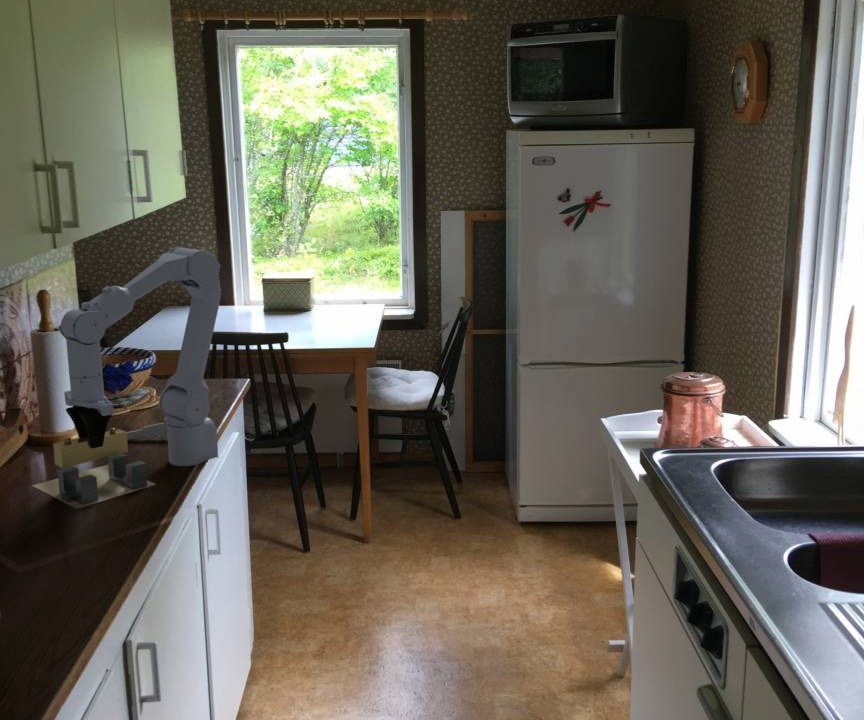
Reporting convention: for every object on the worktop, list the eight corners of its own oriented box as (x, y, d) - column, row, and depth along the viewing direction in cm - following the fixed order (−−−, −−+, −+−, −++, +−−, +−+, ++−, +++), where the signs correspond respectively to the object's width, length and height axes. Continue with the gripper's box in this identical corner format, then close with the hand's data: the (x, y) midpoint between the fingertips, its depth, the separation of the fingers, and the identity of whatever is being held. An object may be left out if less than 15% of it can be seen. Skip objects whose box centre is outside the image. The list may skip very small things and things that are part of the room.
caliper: (178, 443, 200) (176, 415, 199) (177, 444, 199) (176, 417, 198) (82, 446, 198) (80, 418, 196) (81, 447, 197) (79, 420, 195)
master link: (120, 448, 176) (118, 424, 175) (128, 451, 174) (126, 427, 173) (55, 464, 167) (53, 439, 166) (62, 468, 165) (60, 442, 164)
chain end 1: (74, 489, 170) (72, 466, 169) (98, 500, 165) (96, 477, 164) (53, 495, 167) (51, 472, 166) (76, 507, 162) (74, 483, 160)
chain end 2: (128, 473, 178) (127, 451, 177) (152, 483, 173) (151, 461, 172) (109, 479, 175) (107, 457, 174) (133, 489, 170) (131, 467, 169)
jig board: (109, 467, 184) (109, 464, 183) (156, 488, 173) (156, 484, 173) (32, 489, 172) (31, 485, 172) (77, 512, 161) (77, 508, 161)
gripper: (46, 372, 169) (53, 441, 172) (84, 385, 159) (91, 458, 162) (82, 365, 174) (88, 433, 177) (121, 378, 164) (127, 449, 168)
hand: (92, 444), depth 170 cm, fingers closed on master link, 3 cm apart
